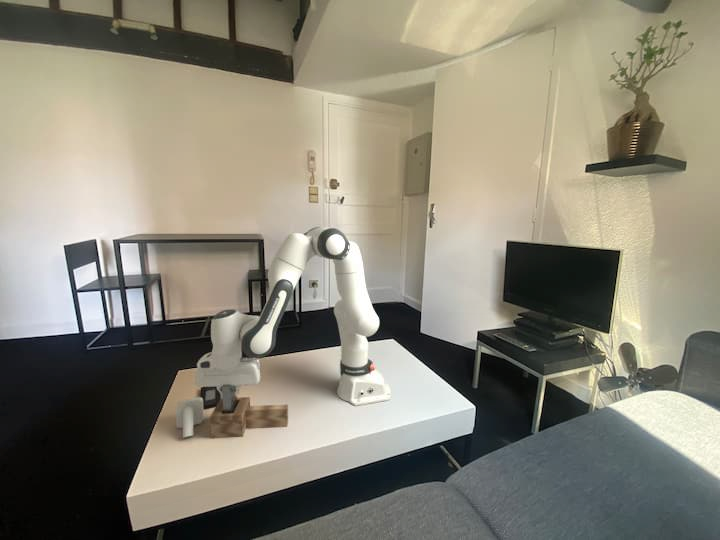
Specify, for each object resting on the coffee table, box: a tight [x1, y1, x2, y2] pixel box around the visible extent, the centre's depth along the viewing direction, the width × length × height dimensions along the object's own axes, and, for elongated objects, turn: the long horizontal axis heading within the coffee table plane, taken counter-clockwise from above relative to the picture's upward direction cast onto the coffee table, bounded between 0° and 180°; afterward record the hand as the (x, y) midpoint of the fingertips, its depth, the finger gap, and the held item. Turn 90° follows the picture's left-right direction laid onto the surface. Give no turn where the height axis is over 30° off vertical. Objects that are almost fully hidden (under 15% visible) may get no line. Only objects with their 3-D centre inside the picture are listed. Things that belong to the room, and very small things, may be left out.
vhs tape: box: [199, 386, 222, 411], centre depth 120 cm, size 8×14×2 cm, turn 25°
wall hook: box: [175, 396, 205, 439], centre depth 102 cm, size 8×10×10 cm
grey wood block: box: [222, 384, 238, 414], centre depth 101 cm, size 2×6×10 cm, turn 5°
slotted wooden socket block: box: [209, 396, 289, 439], centre depth 104 cm, size 24×10×8 cm, turn 95°
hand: (229, 396), depth 102 cm, fingers closed on grey wood block, 2 cm apart
